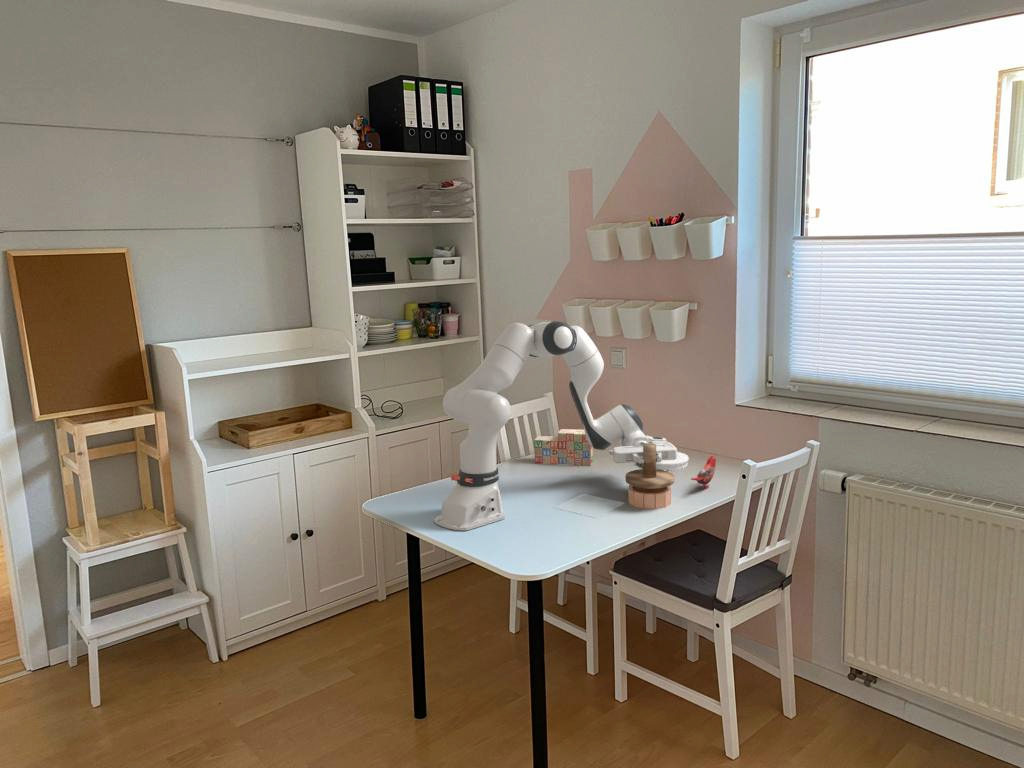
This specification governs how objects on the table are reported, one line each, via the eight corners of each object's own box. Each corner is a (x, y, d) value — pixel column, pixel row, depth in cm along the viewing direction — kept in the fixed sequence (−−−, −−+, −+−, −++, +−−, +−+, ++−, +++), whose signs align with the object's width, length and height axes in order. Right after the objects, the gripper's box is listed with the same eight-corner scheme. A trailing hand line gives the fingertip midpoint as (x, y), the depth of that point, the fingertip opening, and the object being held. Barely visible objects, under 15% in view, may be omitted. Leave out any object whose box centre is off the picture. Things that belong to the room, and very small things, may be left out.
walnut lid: (658, 491, 231) (658, 454, 229) (616, 482, 241) (615, 447, 239) (683, 478, 243) (683, 443, 240) (641, 470, 252) (641, 436, 250)
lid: (690, 457, 292) (690, 449, 291) (687, 472, 273) (687, 464, 272) (644, 455, 296) (644, 447, 296) (638, 470, 277) (638, 462, 277)
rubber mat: (596, 519, 231) (596, 518, 231) (553, 508, 241) (553, 507, 241) (625, 504, 242) (625, 503, 242) (583, 494, 253) (583, 493, 253)
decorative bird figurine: (719, 483, 259) (719, 454, 257) (695, 498, 246) (695, 468, 244) (711, 482, 261) (711, 453, 259) (686, 496, 247) (686, 466, 246)
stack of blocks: (534, 463, 290) (533, 431, 287) (538, 459, 295) (537, 427, 293) (591, 466, 284) (590, 434, 281) (593, 461, 290) (593, 429, 287)
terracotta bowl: (657, 512, 234) (657, 497, 233) (620, 504, 242) (620, 489, 241) (678, 501, 244) (678, 485, 243) (642, 493, 252) (642, 478, 251)
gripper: (608, 441, 252) (617, 452, 238) (669, 437, 253) (682, 448, 240) (608, 459, 253) (617, 472, 240) (669, 456, 255) (682, 468, 241)
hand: (650, 460), depth 240 cm, fingers closed on walnut lid, 4 cm apart
